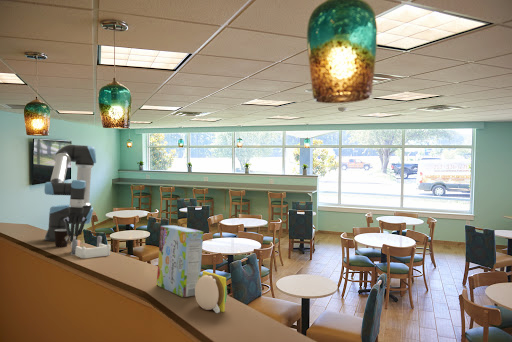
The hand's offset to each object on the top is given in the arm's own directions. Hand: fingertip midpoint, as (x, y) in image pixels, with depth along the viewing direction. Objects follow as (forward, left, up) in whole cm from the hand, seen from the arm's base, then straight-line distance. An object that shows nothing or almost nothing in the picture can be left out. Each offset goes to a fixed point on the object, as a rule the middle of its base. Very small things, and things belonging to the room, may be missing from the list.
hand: (72, 247), depth 215 cm
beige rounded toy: (+104, +61, -3) cm, 120 cm away
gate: (+1, +2, -2) cm, 3 cm away
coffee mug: (-18, -8, -3) cm, 20 cm away
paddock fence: (+8, +10, -3) cm, 13 cm away
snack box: (+80, +52, -3) cm, 96 cm away
